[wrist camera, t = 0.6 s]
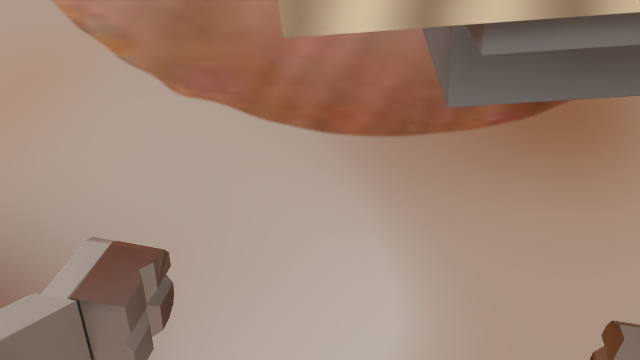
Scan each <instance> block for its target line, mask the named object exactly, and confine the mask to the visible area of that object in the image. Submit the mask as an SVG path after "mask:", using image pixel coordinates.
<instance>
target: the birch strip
mask: <svg viewBox="0 0 640 360" xmlns="http://www.w3.org/2000/svg"><path fill="white" fill-rule="evenodd" d="M278 2H279V9H280V17H281V25H282V32H283V38H289V37H303V36H317V35H331V34H345V33H358V32H372V31H386V30H400V29H413V28H427V27H441V26H455V25H469V24H482V23H496V22H510V21H524V20H537V19H551V18H565V17H579V16H592V15H606V14H620V13H634V12H640V0H278Z"/></svg>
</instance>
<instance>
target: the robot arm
mask: <svg viewBox="0 0 640 360" xmlns="http://www.w3.org/2000/svg"><path fill="white" fill-rule="evenodd" d="M170 266H171V264H170V257H169V252H167V251H166V250H163V249H158V248H153V247H147V246H142V245H136V244H131V243H126V242H120V241H111V240H106V239H101V238H96V237H92V238H89V239H87V240H86V241H84V243H83V244H82V245H81V246H80V248H79V249H78V250H77V251H76V252H75V253H74V255H73V256H72V257H71V258H70V260H69V261H68V262H67V263H66V264H65V266H64V267H63V268H62V270H61V271H60V272H59V273H58V274H57V275H56V276H55V278H54V279H53V280H52V281H51V283H50V284H49V285H48V286H47V287H46V289H45V290H44V291H43V292H42V294H35V293H33V294H31V295H28V296H27V297H24V298H23V299H20V300H18V301H16V302H14V303H12V304H10V305H8V306H6V307H3V308H1V309H0V360H148V358H149V356H150V354H151V352H152V350H153V341H152V337H153V336H154V335H156V334H158V333H159V332H160V331H162V330H163V329H164V327H165V325H166V323H167V321H168V319H169V317H170V313H171V310H172V306H173V299H174V287H173V282H172V281H171V280H170V279H169V278H168V276H167V275H166V273H167V272H168V270H169V268H170ZM601 336H602V339H603V342H604V345H605V346H604V347H602V348H600V349H598V350H596V351H595V352H593V353H592V356H591V358H590V360H640V325H638V324H632V323H624V322H618V321H611V322H610V323H609V324H607V326H606V327H605V329H604V331H603V333H602V335H601Z"/></svg>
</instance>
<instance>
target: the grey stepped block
mask: <svg viewBox="0 0 640 360" xmlns="http://www.w3.org/2000/svg"><path fill="white" fill-rule="evenodd" d="M422 29H423V32H424V35H425V38H426V41H427V44H428V48H429V51H430V54H431V57H432V60H433V63H434V66H435V69H436V72H437V76H438V79H439V82H440V85H441V88H442V91H443V94H444V97H445V100H446V103H447V107H463V106H480V105H496V104H512V103H528V102H544V101H560V100H576V99H592V98H608V97H625V96H640V12H634V13H620V14H606V15H592V16H579V17H565V18H551V19H537V20H524V21H510V22H496V23H482V24H469V25H455V26H441V27H427V28H422Z"/></svg>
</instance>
